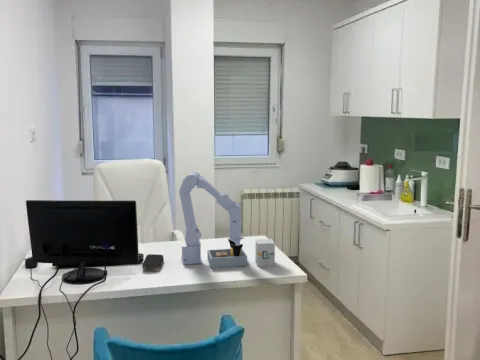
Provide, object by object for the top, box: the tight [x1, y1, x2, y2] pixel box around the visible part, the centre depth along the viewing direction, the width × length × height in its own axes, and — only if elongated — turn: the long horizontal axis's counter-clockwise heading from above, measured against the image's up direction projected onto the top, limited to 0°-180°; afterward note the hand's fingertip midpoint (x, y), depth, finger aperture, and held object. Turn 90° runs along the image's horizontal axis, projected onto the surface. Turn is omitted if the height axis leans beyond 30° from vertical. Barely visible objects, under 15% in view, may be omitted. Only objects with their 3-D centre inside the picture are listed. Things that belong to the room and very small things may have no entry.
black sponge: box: [141, 253, 165, 272], centre depth 235 cm, size 16×8×4 cm, turn 1°
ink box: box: [255, 238, 276, 268], centre depth 237 cm, size 8×8×12 cm
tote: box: [206, 247, 248, 269], centre depth 240 cm, size 18×14×5 cm
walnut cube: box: [216, 252, 227, 257], centre depth 237 cm, size 5×5×5 cm
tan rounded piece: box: [230, 247, 241, 257], centre depth 239 cm, size 5×5×7 cm
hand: (235, 255), depth 239 cm, fingers open, 7 cm apart
